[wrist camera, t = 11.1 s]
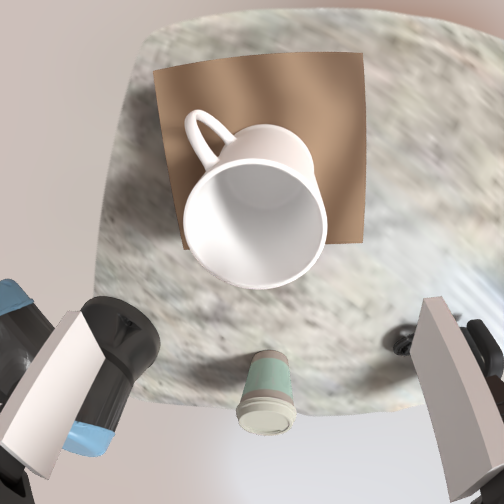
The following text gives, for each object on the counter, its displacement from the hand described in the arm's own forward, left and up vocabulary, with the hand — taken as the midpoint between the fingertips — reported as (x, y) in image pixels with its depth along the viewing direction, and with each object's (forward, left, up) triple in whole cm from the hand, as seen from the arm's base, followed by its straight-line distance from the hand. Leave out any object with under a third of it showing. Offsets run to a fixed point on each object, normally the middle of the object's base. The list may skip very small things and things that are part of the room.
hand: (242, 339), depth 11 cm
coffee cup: (-2, -32, -27) cm, 42 cm away
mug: (-1, +2, -20) cm, 20 cm away
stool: (0, +2, -27) cm, 27 cm away
